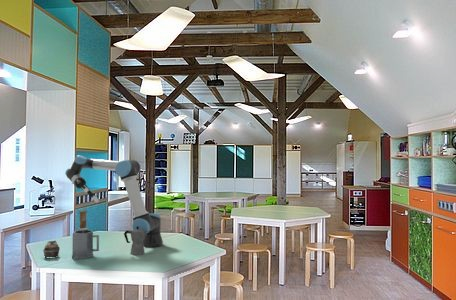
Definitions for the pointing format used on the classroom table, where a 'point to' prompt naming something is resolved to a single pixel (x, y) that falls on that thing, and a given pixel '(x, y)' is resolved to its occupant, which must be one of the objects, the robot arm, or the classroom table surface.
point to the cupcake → (51, 249)
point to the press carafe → (83, 244)
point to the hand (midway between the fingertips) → (92, 196)
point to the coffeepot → (136, 241)
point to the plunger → (83, 220)
